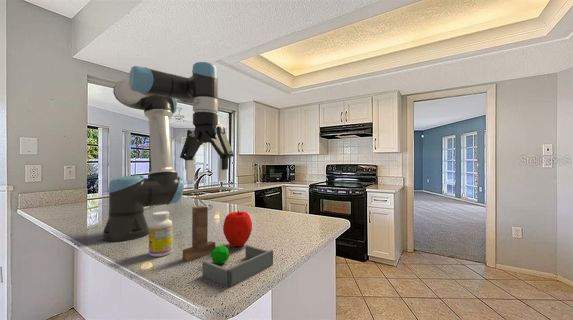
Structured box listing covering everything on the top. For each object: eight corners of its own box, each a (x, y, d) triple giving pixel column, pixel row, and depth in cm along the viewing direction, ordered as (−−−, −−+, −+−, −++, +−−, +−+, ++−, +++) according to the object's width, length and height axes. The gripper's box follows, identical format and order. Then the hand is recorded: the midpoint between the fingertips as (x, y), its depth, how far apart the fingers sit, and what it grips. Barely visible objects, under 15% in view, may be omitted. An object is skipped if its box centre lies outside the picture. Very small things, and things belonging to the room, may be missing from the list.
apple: (236, 253, 80) (236, 214, 80) (216, 246, 86) (216, 210, 86) (257, 244, 88) (258, 209, 88) (238, 239, 94) (238, 206, 94)
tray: (202, 275, 64) (202, 259, 64) (247, 256, 77) (247, 243, 77) (229, 287, 58) (229, 269, 58) (272, 264, 71) (273, 250, 71)
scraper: (181, 259, 74) (182, 208, 74) (209, 250, 82) (210, 204, 83) (188, 262, 72) (188, 210, 73) (216, 252, 80) (216, 205, 81)
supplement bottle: (150, 251, 81) (150, 211, 81) (172, 248, 83) (173, 210, 84) (147, 258, 75) (147, 215, 75) (171, 255, 77) (172, 213, 77)
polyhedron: (210, 261, 73) (210, 244, 73) (227, 258, 75) (227, 242, 75) (212, 267, 69) (212, 250, 69) (230, 265, 70) (230, 247, 71)
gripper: (168, 115, 82) (168, 180, 81) (228, 105, 70) (229, 181, 70) (187, 119, 88) (187, 179, 88) (244, 110, 77) (245, 180, 76)
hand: (205, 180), depth 79 cm, fingers open, 13 cm apart
